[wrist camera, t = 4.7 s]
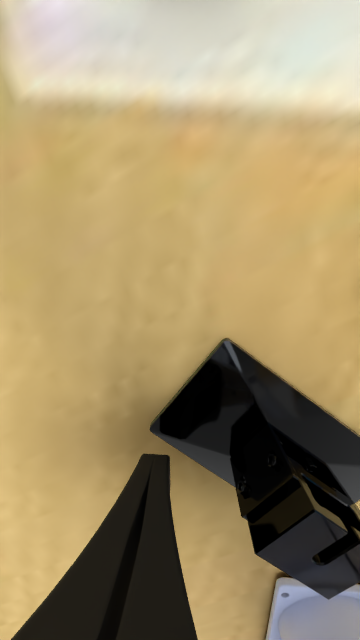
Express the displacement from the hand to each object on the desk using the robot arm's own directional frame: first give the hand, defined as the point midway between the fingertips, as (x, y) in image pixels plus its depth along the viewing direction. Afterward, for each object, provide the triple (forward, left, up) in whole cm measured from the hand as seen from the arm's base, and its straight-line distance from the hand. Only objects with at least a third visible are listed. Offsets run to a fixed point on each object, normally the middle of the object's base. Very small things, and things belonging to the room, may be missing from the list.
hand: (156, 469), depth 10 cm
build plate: (0, -6, -2) cm, 7 cm away
